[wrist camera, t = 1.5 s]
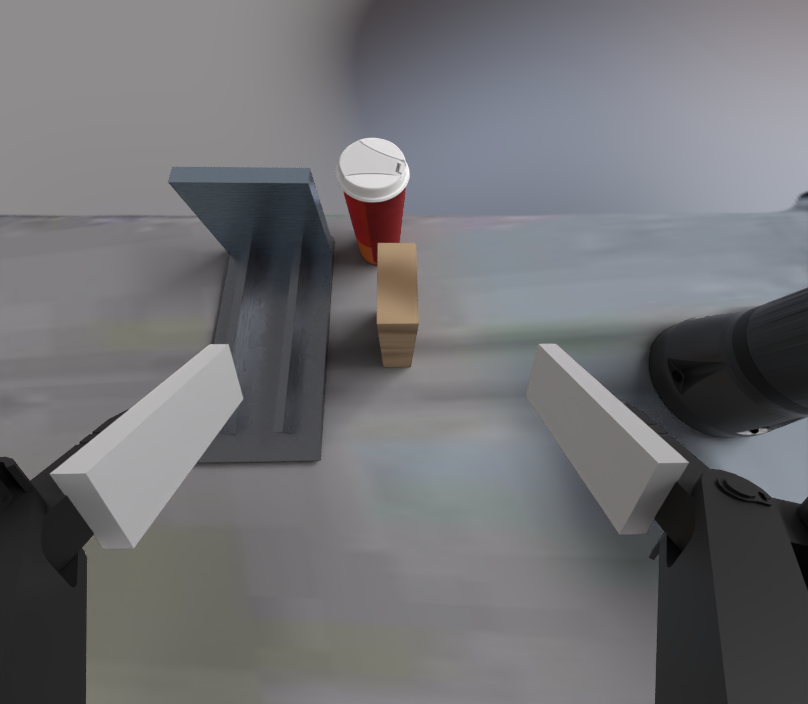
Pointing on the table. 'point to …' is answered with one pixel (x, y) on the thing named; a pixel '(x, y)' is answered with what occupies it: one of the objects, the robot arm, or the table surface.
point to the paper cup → (373, 192)
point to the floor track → (269, 305)
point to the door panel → (397, 303)
